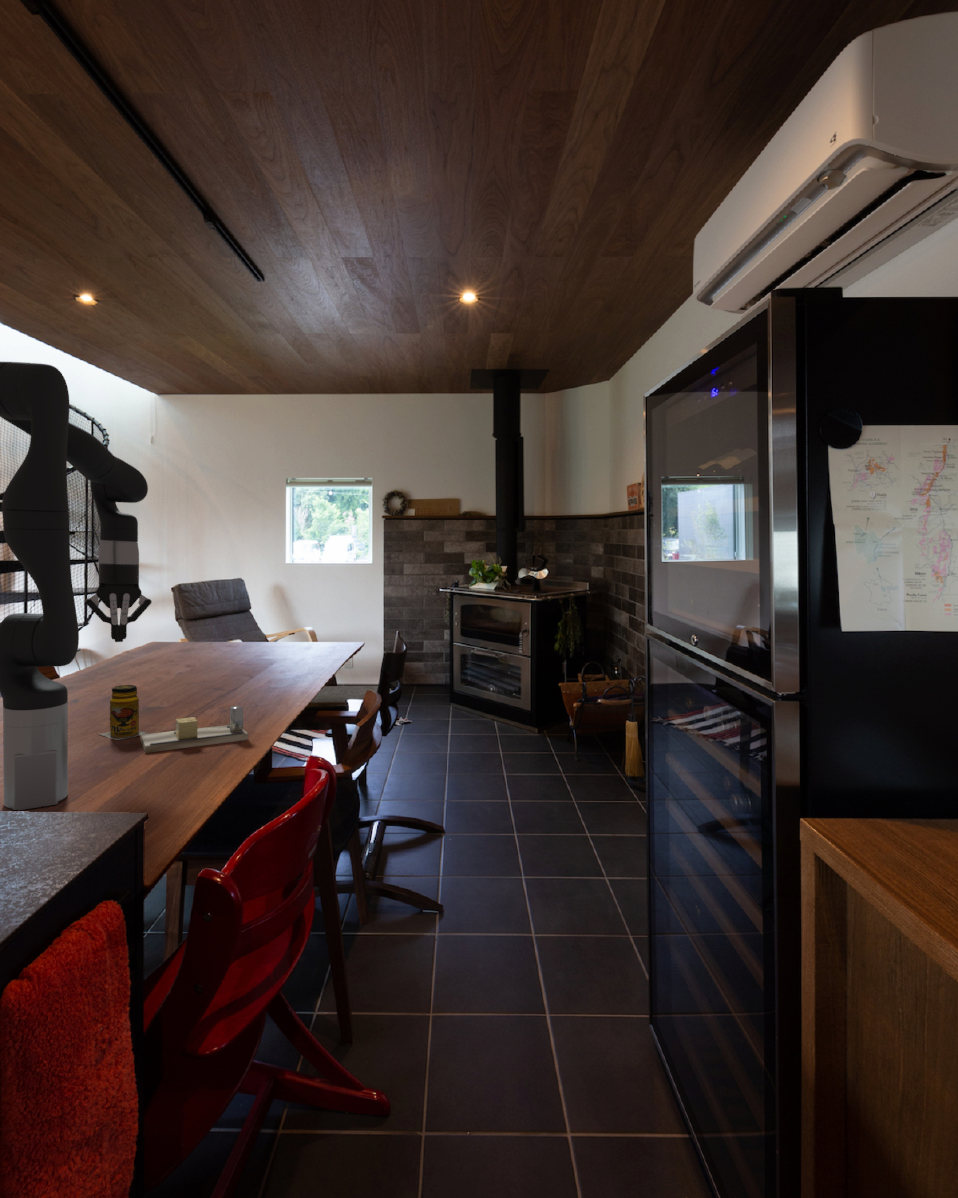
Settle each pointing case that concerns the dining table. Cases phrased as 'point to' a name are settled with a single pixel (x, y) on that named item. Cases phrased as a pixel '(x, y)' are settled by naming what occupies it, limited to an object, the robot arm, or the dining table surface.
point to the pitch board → (203, 738)
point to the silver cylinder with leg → (236, 719)
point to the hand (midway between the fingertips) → (118, 641)
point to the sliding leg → (186, 728)
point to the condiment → (124, 713)
